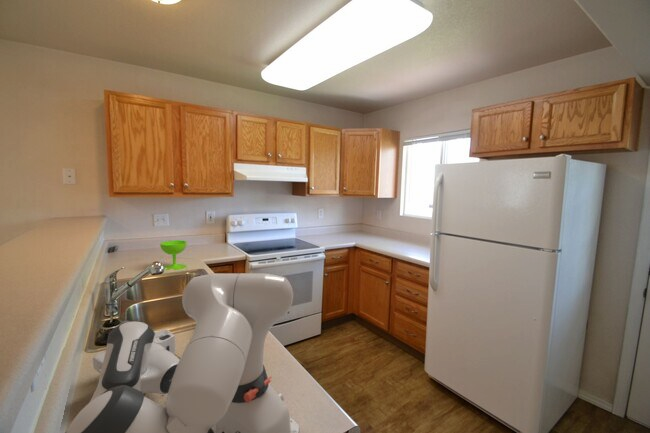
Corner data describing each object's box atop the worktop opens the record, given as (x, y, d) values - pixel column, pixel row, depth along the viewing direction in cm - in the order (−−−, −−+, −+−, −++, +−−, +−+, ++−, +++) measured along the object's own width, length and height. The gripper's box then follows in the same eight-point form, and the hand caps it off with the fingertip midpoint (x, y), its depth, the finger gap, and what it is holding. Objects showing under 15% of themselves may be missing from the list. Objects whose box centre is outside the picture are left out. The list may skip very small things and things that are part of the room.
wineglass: (164, 266, 206) (163, 240, 204) (189, 264, 211) (188, 239, 209) (158, 273, 191) (157, 245, 189) (185, 271, 196) (184, 244, 194)
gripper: (103, 386, 77) (85, 366, 85) (180, 351, 94) (159, 337, 102) (101, 364, 77) (83, 346, 85) (179, 332, 93) (158, 319, 101)
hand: (125, 341), depth 93 cm, fingers closed on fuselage, 4 cm apart
